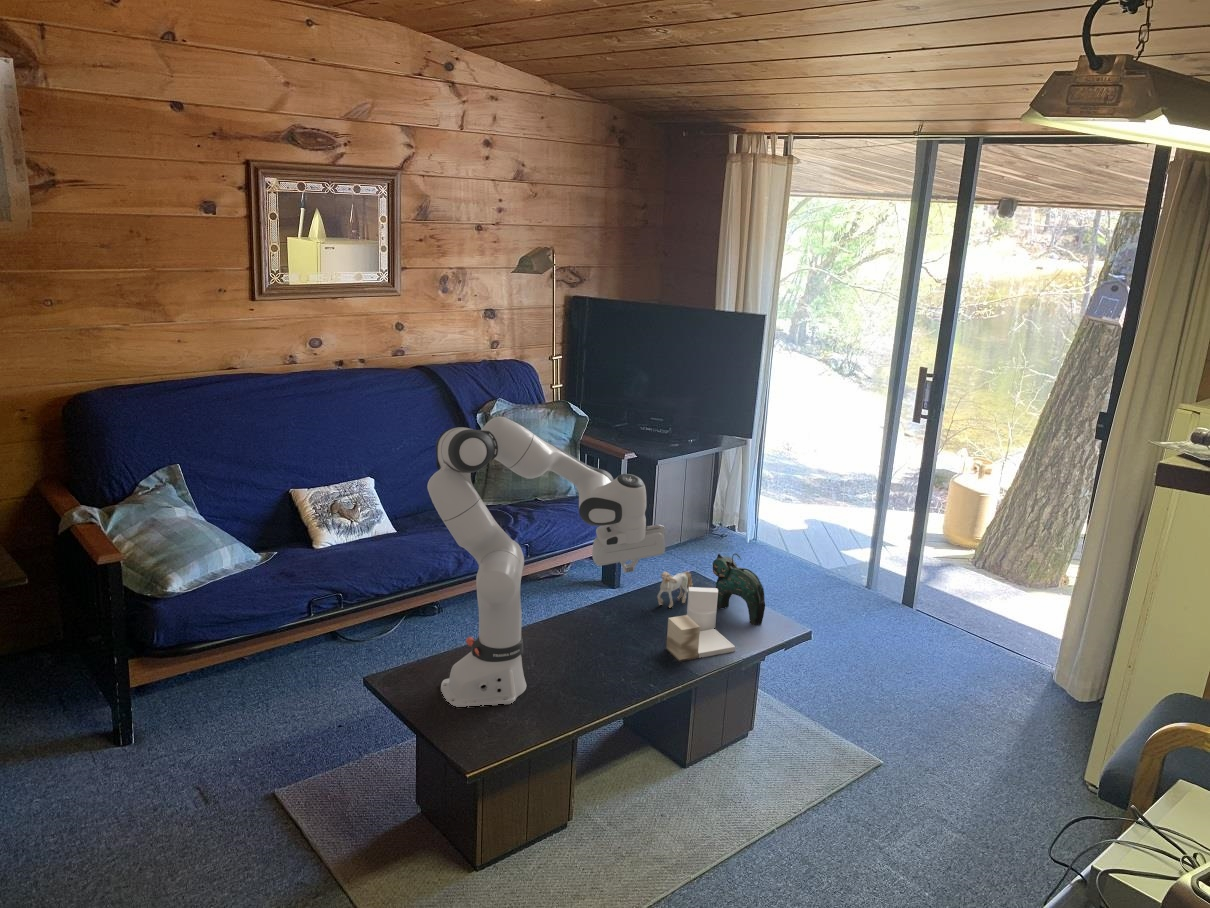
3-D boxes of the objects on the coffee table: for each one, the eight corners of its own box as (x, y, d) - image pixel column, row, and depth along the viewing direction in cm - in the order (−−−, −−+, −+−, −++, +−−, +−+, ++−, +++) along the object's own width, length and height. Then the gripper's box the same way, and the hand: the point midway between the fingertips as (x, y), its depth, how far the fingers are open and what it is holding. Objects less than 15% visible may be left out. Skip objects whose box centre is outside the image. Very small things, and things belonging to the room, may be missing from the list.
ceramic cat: (707, 605, 309) (712, 547, 303) (721, 600, 313) (726, 543, 307) (754, 628, 294) (759, 568, 289) (768, 622, 298) (773, 563, 293)
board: (698, 658, 275) (699, 653, 274) (679, 639, 285) (679, 634, 285) (734, 651, 280) (735, 646, 279) (714, 633, 290) (714, 628, 290)
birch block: (679, 661, 272) (681, 630, 270) (666, 649, 279) (668, 617, 276) (697, 658, 275) (700, 626, 272) (684, 645, 282) (686, 614, 279)
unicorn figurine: (647, 614, 301) (649, 575, 297) (674, 592, 317) (677, 555, 313) (667, 620, 297) (670, 580, 294) (694, 598, 314) (697, 560, 310)
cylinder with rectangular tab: (714, 619, 299) (716, 584, 296) (716, 632, 290) (719, 596, 287) (685, 618, 299) (687, 582, 296) (686, 631, 291) (689, 595, 287)
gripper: (661, 517, 264) (660, 558, 271) (590, 529, 259) (590, 570, 266) (669, 529, 259) (667, 571, 266) (597, 542, 254) (597, 583, 261)
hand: (628, 570), depth 266 cm, fingers closed
